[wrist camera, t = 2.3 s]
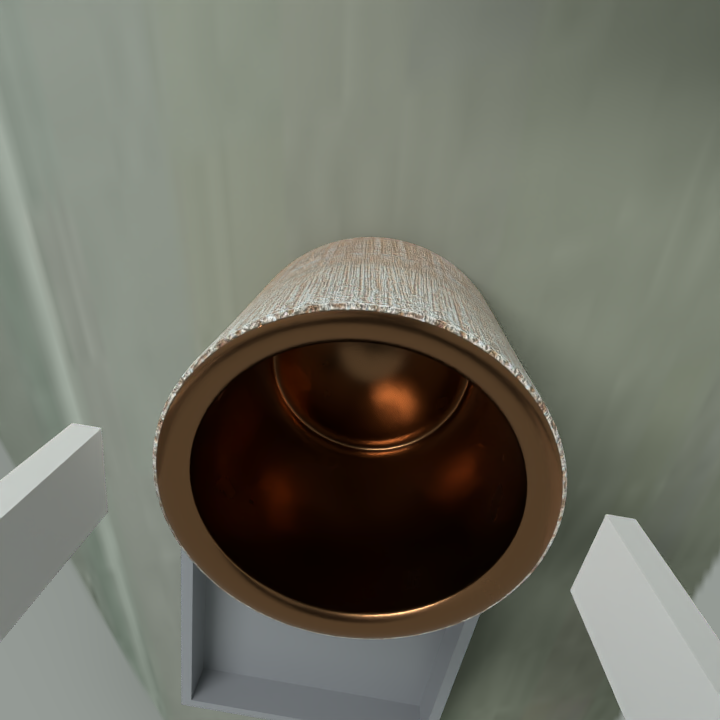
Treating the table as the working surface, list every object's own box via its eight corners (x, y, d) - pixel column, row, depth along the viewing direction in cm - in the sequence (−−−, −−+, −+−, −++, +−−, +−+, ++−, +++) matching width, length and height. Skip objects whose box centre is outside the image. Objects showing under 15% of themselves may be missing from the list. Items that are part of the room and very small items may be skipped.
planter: (501, 446, 22) (571, 636, 13) (283, 467, 23) (215, 652, 15) (488, 212, 18) (577, 263, 9) (223, 255, 19) (78, 335, 10)
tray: (201, 478, 24) (180, 512, 22) (488, 528, 24) (498, 567, 22) (197, 662, 30) (181, 704, 28) (426, 703, 30) (428, 747, 28)
